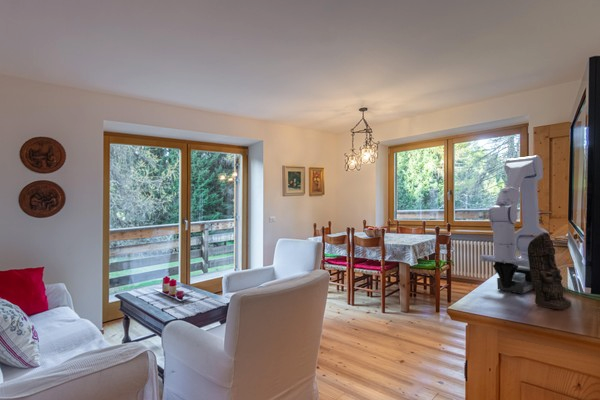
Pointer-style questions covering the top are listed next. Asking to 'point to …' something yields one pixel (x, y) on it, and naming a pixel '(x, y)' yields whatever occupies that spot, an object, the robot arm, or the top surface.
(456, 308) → the top surface
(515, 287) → the tray
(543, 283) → the statue
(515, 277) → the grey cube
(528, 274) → the player housing
